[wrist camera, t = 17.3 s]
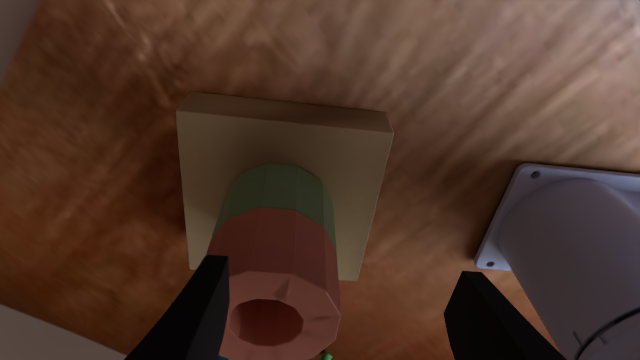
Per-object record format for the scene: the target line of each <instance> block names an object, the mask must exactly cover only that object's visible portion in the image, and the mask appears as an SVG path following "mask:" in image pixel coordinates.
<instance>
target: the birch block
mask: <svg viewBox="0 0 640 360" xmlns="http://www.w3.org/2000/svg"><path fill="white" fill-rule="evenodd" d="M175 114H176V125H177V136H178V147H179V158H180V170H181V181H182V192H183V203H184V214H185V225H186V237H187V248H188V259H189V269H191V270H196V269H197V268H198V266H199V265H200V263H201V261H202V260H203V258H204V257H205V256H206V253H207V250H208V247H209V244H210V241H211V237H212V234H213V231H214V228H215V225H216V222H217V219H218V216H219V213H220V210H221V207H222V204H223V201H224V197H225V194H226V192H227V191H228V189H229V188H230V187H231V185H232V184H233V183H234V181H235V180H236V179H237V177H238V176H239V175H240V174H241V173H243V172H246V171H248V170H251V169H253V168H256V167H258V166H261V165H264V164H268V163H273V164H284V165H295V166H297V167H300V168H302V169H303V170H305V171H307V172H308V173H310V174H311V175H313V176H315V177H316V178H318V179H319V180H321V181H322V182H323V184H324V186H325V188H326V190H327V192H328V194H329V196H330V198H331V200H332V202H333V212H334V225H335V238H336V253H337V266H338V279H339V280H345V281H357V280H358V277H359V273H360V269H361V265H362V261H363V257H364V253H365V249H366V245H367V241H368V237H369V233H370V229H371V225H372V221H373V217H374V213H375V209H376V205H377V201H378V197H379V193H380V189H381V185H382V181H383V177H384V173H385V169H386V165H387V161H388V157H389V153H390V149H391V145H392V141H393V137H394V132H393V129H392V127H391V124H390V122H389V119H388V117H387V115H386V113H385V112H376V111H366V110H357V109H348V108H339V107H329V106H320V105H311V104H302V103H292V102H283V101H274V100H265V99H255V98H246V97H237V96H228V95H218V94H209V93H200V92H189V94H188V95H187V96H186V97H185V99H184V100H183V101H182V103H181V104H180V105H179V107H178V108H177V109H176V111H175Z"/></svg>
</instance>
